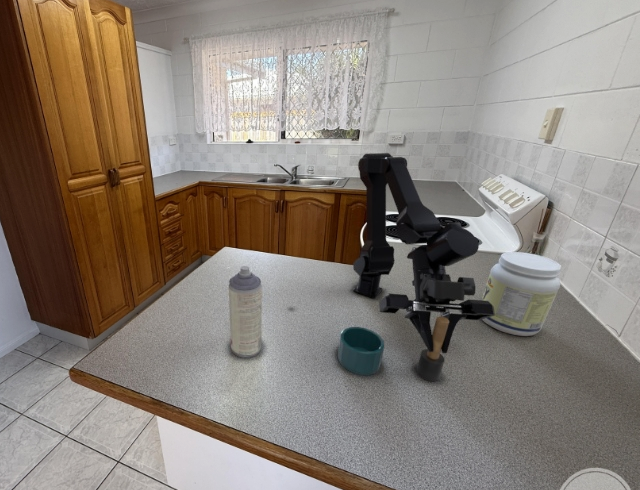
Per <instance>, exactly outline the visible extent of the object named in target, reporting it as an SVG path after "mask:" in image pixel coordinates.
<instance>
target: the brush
mask: <svg viewBox="0 0 640 490" xmlns="http://www.w3.org/2000/svg"><path fill="white" fill-rule="evenodd" d="M448 324H449V320H448V319H447V318H445V317H441V316H437V317H436V319H435V323H434V326H433V330H432V332H431V333H432V339H433V352H429V351H428V349H427V348H425V349H422V350H421V351H420V354H419V358H418V362H417V366H416V373H417V375H418V376H419V377H420V378H421V379H423V380H425V381H428V382H437V381H439V380H440V377H441V374H442V370H443V368H444V365H445V357H444V355H443V354H442V350H441V348H442V345H443V341H444V338H445V335H446V331H447V328H448Z"/></svg>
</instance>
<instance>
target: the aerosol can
mask: <svg viewBox="0 0 640 490" xmlns="http://www.w3.org/2000/svg"><path fill="white" fill-rule="evenodd" d="M262 292H263V286H262V280H261V278H260V277H259V276H257V275H256V274H254V273H253V272H252V271H250V267H249V266H248V265H242V266H240V271H239V272H237V273H236V274H235V275H233V276H232V277H231V278H230V279H229V280H228V307H229V308H228V309H229V330H230V331H229V333H230V350H231V352H232V353H233V355H234V356H236V357H238V358H241V359H242V358H243V359H251V358H254V357H256V356H257V355H259V354H260V352H261V351H262V307H263V306H262V305H263V303H262V302H263V300H262V297H263V296H262V294H263V293H262Z"/></svg>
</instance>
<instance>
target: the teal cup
mask: <svg viewBox="0 0 640 490" xmlns="http://www.w3.org/2000/svg"><path fill="white" fill-rule="evenodd" d="M384 350H385V341H384V339H383V338H382V337H381V335H380V334H378V333H377V332H375V331H374V330H371V329H369V328H366V327H360V326H350V327H347V328H344V329H343V330H342V331H341V332H340V334H339V343H338V351H337V360H338V363H339V364H340V365H341V367H343V368H344V369H345V370H347V371H349V372H350V373H353V374H355V375H359V376H371V375H374V374H376V373H377V372H379V370H380V368H381V365H382V360H383V355H384Z"/></svg>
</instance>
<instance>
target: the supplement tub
mask: <svg viewBox="0 0 640 490" xmlns="http://www.w3.org/2000/svg"><path fill="white" fill-rule="evenodd" d="M561 269H562V265H561V264H560V263H558V262H557V261H555V260H553V259H551V258H549V257H546V256H542V255H539V254H534V253H529V252H523V251H522V252H521V251H507V252H503V253H502V254H501V255H500V257H499V259H498V263H496V264H494V265H493V266H492V267H491V269H490V272H489V275H488V278H487V281H486V285H485V288H484V290H483V294H482V297H481V299H480V300H483V301H489V302H490V303H491V304H492V305H493V307H494V311H495V316H491V317H488V318H485V319H482V320H481V321H483V322H484V323H485V324H487V325H488V326H489V327H492V328H493V329H496V330H498V331H500V332H503V333H505V334H508V335H509V334H510V335H514V336H521V337H531V336H535V335H537V334H538V333H540V331H541V330H542V328H543V326H544V323H545V321H546V319H547V317H548V314H549V313H550V310H551V308H552V305H553V303H554V301H555V299H556V296H557V294H558V292H559V289H560V288H561V280H560V278H559V276H560V274H561Z"/></svg>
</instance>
